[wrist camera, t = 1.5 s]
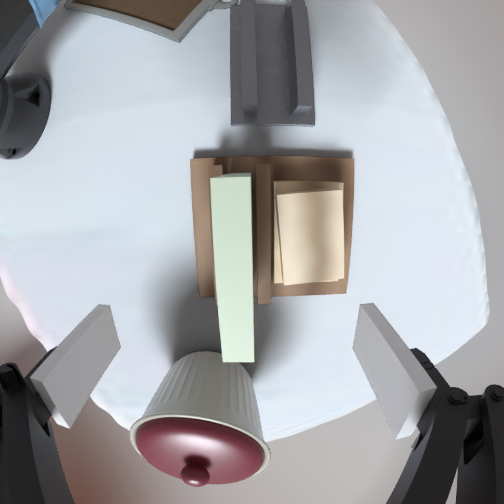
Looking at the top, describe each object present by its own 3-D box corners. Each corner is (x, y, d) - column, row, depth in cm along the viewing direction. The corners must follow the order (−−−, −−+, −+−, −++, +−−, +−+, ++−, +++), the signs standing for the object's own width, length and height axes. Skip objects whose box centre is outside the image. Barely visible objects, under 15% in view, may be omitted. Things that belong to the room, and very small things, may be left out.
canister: (154, 326, 40) (99, 429, 20) (271, 336, 41) (284, 456, 20) (165, 402, 46) (138, 493, 25) (260, 412, 46) (263, 509, 26)
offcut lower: (272, 275, 36) (274, 283, 34) (272, 180, 32) (274, 181, 30) (332, 273, 36) (337, 281, 34) (337, 181, 32) (343, 183, 30)
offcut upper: (281, 277, 33) (284, 285, 31) (274, 192, 30) (276, 195, 28) (338, 270, 33) (344, 278, 31) (335, 188, 30) (342, 190, 28)
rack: (201, 292, 38) (194, 311, 33) (192, 159, 33) (182, 158, 28) (343, 288, 38) (355, 306, 33) (350, 159, 33) (366, 158, 28)
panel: (234, 283, 36) (222, 362, 21) (230, 173, 32) (210, 178, 17) (253, 283, 36) (254, 362, 21) (251, 172, 32) (250, 176, 17)
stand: (231, 126, 32) (226, 115, 25) (231, 10, 27) (226, -19, 19) (312, 126, 32) (327, 116, 25) (304, 12, 27) (314, -16, 19)
